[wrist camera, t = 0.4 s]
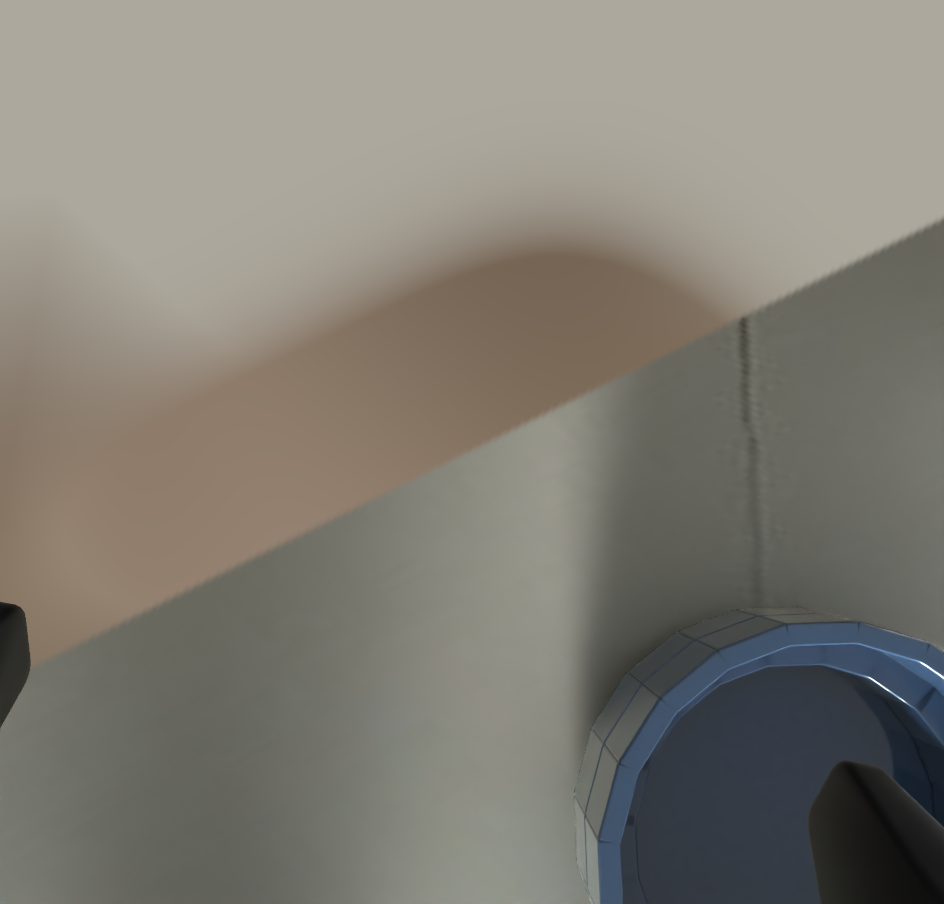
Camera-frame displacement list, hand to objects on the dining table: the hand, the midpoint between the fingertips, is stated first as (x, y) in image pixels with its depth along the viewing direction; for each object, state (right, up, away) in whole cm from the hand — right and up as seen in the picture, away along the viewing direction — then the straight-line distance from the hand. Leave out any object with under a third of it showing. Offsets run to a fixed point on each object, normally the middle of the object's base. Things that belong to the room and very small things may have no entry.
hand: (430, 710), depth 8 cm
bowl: (+9, -8, +15) cm, 19 cm away
